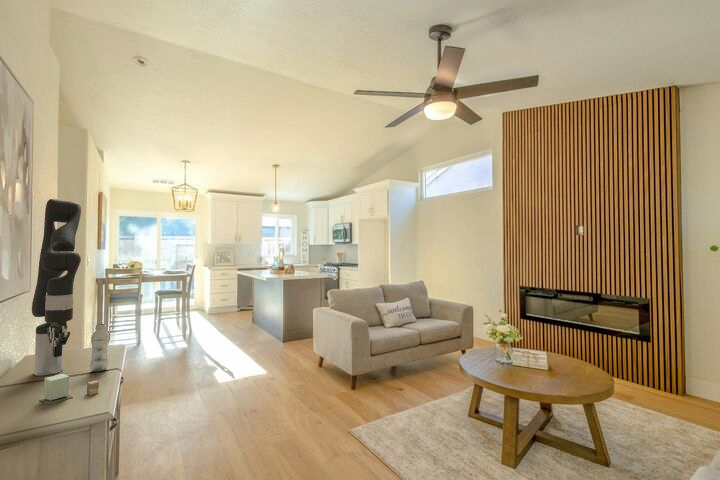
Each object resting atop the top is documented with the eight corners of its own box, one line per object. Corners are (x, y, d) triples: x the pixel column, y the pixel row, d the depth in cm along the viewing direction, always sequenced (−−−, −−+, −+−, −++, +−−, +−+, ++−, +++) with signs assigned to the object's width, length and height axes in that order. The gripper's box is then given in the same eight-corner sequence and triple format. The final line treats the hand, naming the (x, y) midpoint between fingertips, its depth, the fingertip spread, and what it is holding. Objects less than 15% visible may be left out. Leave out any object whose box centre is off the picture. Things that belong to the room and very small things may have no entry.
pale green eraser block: (43, 397, 122) (44, 378, 122) (62, 392, 126) (62, 373, 127) (50, 400, 119) (50, 380, 120) (68, 395, 124) (69, 376, 124)
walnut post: (39, 400, 121) (40, 380, 122) (63, 393, 128) (64, 374, 128) (47, 405, 118) (48, 384, 118) (72, 397, 124) (73, 377, 124)
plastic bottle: (98, 374, 148) (100, 326, 149) (85, 372, 149) (87, 325, 150) (112, 369, 154) (113, 323, 155) (99, 367, 156) (101, 322, 156)
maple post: (86, 393, 128) (87, 382, 128) (94, 391, 130) (95, 380, 130) (90, 395, 126) (90, 384, 126) (98, 392, 129) (98, 381, 129)
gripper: (38, 306, 124) (35, 355, 123) (54, 310, 117) (51, 362, 117) (64, 304, 130) (62, 350, 130) (80, 307, 124) (78, 357, 123)
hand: (57, 356), depth 123 cm, fingers closed
